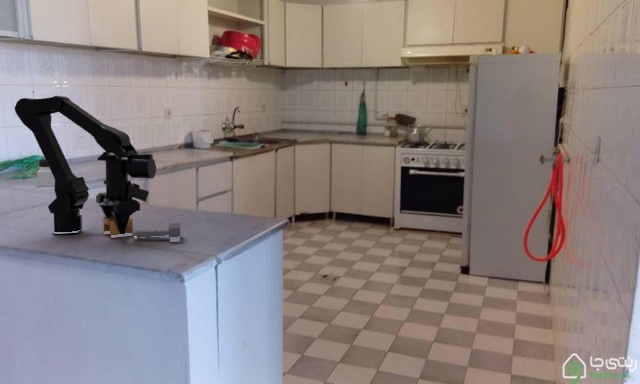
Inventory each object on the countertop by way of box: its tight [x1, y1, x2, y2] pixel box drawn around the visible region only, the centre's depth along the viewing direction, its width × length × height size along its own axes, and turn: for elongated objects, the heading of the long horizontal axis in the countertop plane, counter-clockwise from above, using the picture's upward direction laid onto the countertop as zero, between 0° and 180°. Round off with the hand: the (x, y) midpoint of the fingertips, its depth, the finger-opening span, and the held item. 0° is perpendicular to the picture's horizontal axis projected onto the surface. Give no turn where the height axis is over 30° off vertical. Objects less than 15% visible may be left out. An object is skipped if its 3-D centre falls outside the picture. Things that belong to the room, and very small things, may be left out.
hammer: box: [133, 222, 181, 239], centre depth 140 cm, size 12×7×4 cm, turn 105°
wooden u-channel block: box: [102, 216, 134, 236], centre depth 144 cm, size 6×6×5 cm
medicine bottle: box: [36, 158, 55, 188], centre depth 232 cm, size 7×7×12 cm
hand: (118, 231), depth 144 cm, fingers closed on wooden u-channel block, 6 cm apart
